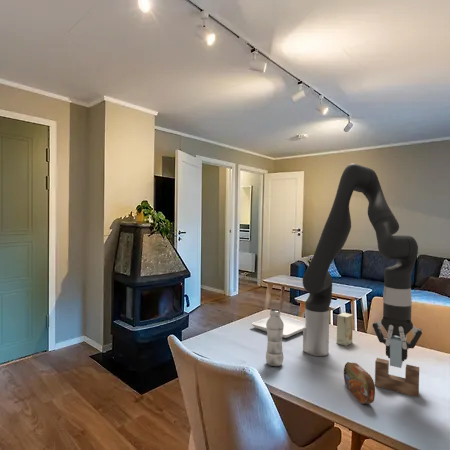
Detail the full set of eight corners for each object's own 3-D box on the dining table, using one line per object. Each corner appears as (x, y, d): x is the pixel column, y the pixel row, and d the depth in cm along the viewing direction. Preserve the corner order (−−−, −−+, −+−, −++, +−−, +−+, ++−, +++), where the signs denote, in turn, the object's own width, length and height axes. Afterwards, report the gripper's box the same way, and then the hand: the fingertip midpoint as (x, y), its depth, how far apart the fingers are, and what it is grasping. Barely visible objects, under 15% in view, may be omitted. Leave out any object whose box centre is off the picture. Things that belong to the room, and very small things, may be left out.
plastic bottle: (284, 362, 123) (285, 308, 122) (281, 370, 116) (282, 313, 116) (267, 359, 125) (268, 306, 124) (263, 367, 118) (264, 311, 118)
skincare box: (345, 346, 138) (346, 317, 137) (336, 343, 141) (336, 315, 141) (352, 342, 142) (353, 314, 142) (343, 339, 145) (343, 312, 145)
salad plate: (286, 342, 143) (286, 334, 143) (250, 329, 158) (250, 322, 158) (313, 331, 157) (313, 323, 157) (278, 320, 173) (278, 313, 172)
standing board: (374, 385, 106) (375, 361, 106) (376, 381, 108) (377, 357, 108) (418, 397, 99) (418, 371, 99) (418, 392, 102) (419, 367, 102)
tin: (342, 383, 108) (343, 357, 107) (351, 382, 108) (352, 357, 108) (366, 410, 93) (366, 380, 92) (376, 409, 93) (377, 380, 93)
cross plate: (401, 368, 97) (401, 341, 97) (389, 365, 99) (390, 338, 98) (405, 351, 109) (405, 327, 109) (395, 349, 110) (395, 326, 110)
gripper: (424, 302, 99) (423, 359, 99) (373, 296, 106) (373, 349, 107) (423, 308, 92) (422, 369, 93) (369, 301, 100) (368, 357, 100)
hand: (396, 358), depth 100 cm, fingers closed on cross plate, 3 cm apart
